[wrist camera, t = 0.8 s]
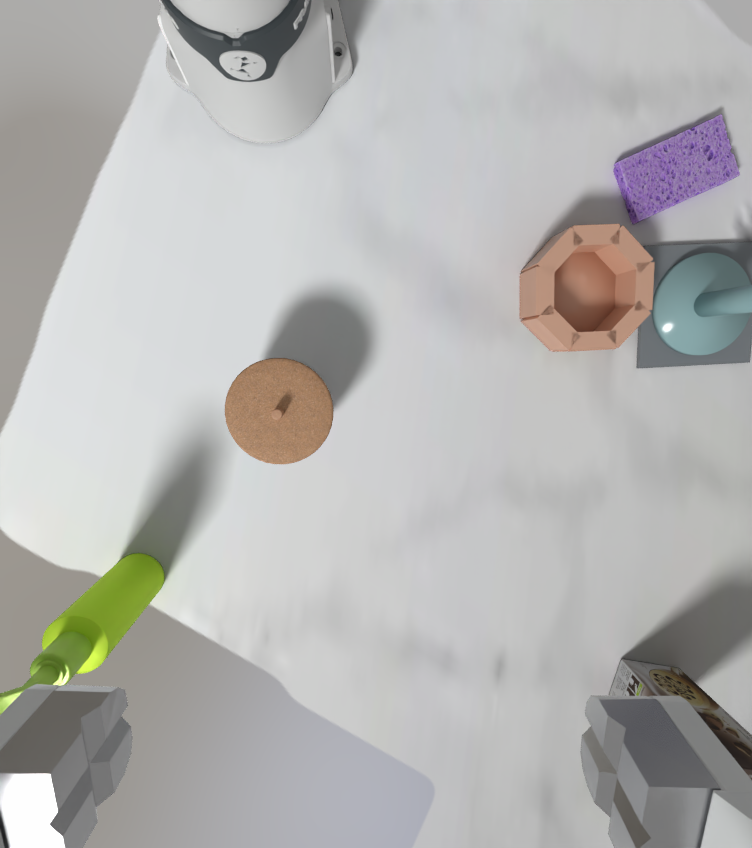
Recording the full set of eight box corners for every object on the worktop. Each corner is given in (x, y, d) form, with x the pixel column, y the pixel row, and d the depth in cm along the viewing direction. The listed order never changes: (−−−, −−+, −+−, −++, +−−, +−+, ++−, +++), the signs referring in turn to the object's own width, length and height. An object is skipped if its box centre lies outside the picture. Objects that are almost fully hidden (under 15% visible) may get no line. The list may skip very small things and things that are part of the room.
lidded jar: (284, 337, 51) (270, 334, 42) (353, 400, 53) (355, 410, 43) (222, 406, 52) (196, 418, 43) (293, 467, 53) (282, 490, 44)
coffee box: (606, 698, 61) (698, 820, 45) (620, 656, 60) (718, 765, 44) (667, 708, 62) (777, 830, 46) (681, 667, 61) (799, 777, 45)
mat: (641, 247, 52) (644, 246, 52) (755, 242, 53) (759, 241, 52) (636, 368, 54) (639, 368, 54) (746, 362, 55) (749, 362, 55)
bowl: (519, 237, 51) (536, 226, 47) (629, 233, 52) (656, 222, 47) (519, 353, 53) (535, 353, 49) (625, 347, 54) (650, 347, 49)
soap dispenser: (98, 563, 54) (-46, 685, 34) (154, 547, 54) (43, 659, 34) (116, 606, 55) (-14, 749, 35) (171, 590, 55) (73, 723, 35)
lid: (654, 256, 52) (726, 233, 42) (749, 252, 53) (842, 229, 43) (649, 357, 54) (717, 358, 44) (741, 352, 54) (828, 352, 45)
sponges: (726, 181, 52) (740, 175, 50) (628, 227, 52) (638, 222, 50) (709, 120, 51) (723, 112, 49) (608, 167, 51) (618, 160, 49)
